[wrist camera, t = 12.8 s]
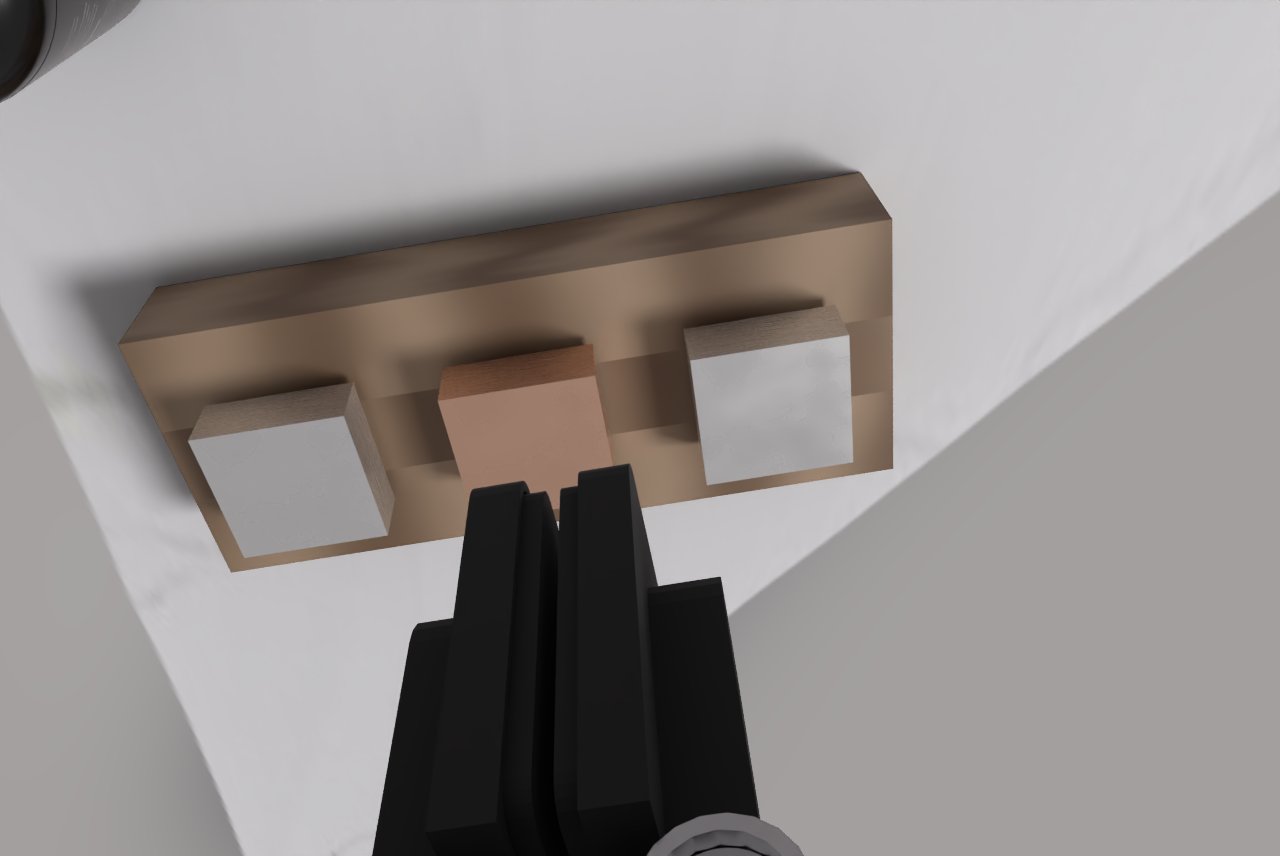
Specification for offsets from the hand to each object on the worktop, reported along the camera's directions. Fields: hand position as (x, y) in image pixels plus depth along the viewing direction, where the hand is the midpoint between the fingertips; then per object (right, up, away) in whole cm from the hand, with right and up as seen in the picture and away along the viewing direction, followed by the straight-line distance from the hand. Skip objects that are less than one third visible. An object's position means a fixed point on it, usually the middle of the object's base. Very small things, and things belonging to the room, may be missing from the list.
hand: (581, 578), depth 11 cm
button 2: (+5, +6, +28) cm, 29 cm away
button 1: (-11, +3, +28) cm, 30 cm away
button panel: (-3, +5, +28) cm, 29 cm away
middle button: (-3, +4, +28) cm, 28 cm away
